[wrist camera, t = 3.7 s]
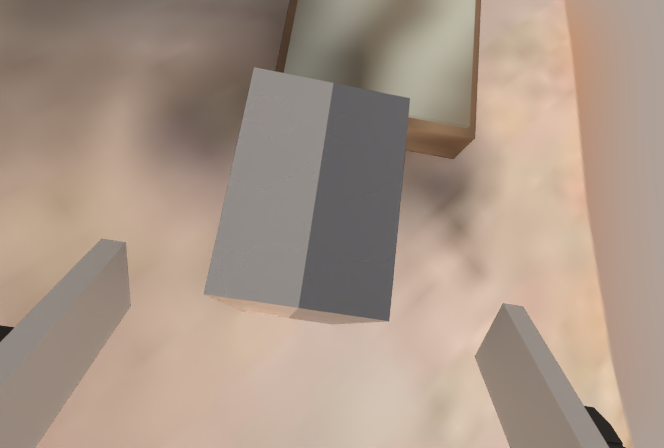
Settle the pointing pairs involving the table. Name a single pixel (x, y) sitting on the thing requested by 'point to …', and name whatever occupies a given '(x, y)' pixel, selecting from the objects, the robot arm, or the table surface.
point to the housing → (312, 202)
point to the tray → (395, 59)
